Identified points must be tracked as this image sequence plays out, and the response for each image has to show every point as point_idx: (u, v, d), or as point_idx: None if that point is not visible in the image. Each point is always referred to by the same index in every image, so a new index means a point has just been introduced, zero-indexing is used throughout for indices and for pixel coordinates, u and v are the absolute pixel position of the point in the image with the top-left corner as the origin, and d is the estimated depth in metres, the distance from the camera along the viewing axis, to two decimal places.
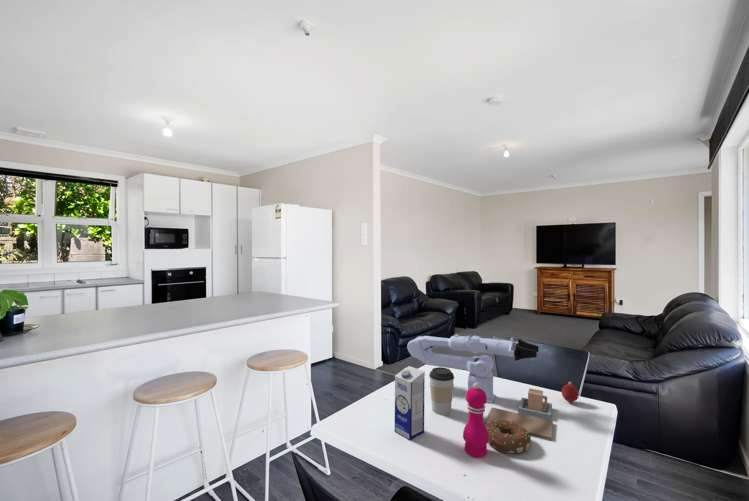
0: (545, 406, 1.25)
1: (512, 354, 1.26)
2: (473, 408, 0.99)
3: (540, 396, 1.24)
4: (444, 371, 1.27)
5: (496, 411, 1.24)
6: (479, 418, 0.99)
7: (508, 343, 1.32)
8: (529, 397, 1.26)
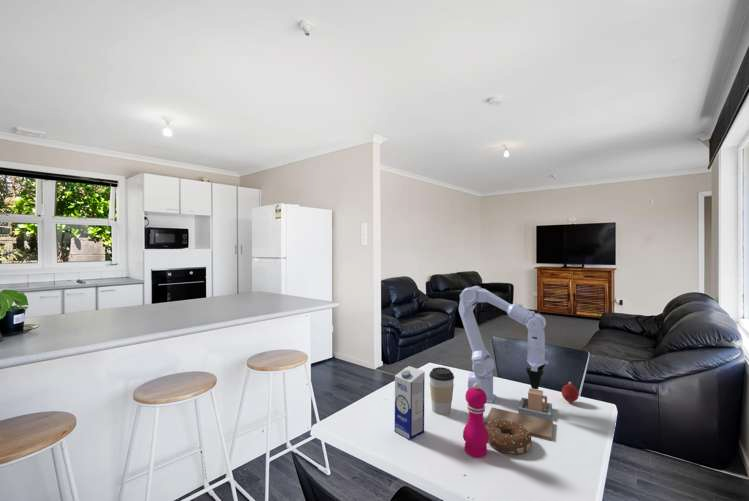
0: (545, 406, 1.25)
1: (533, 369, 1.21)
2: (473, 408, 0.99)
3: (540, 396, 1.24)
4: (444, 371, 1.27)
5: (496, 411, 1.24)
6: (479, 418, 0.99)
7: (542, 360, 1.25)
8: (529, 397, 1.26)
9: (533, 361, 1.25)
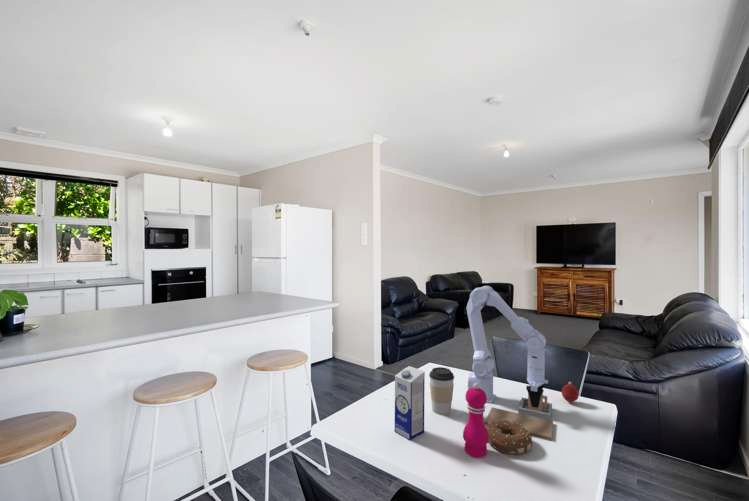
0: (545, 406, 1.25)
1: (533, 390, 1.21)
2: (473, 408, 0.99)
3: None
4: (444, 371, 1.27)
5: (496, 411, 1.24)
6: (479, 418, 0.99)
7: (542, 379, 1.25)
8: (529, 397, 1.26)
9: (533, 380, 1.25)
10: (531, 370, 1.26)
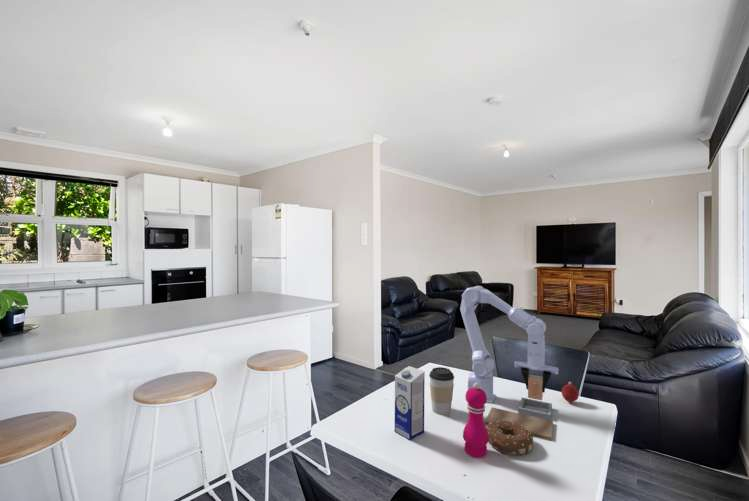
0: (533, 392, 1.25)
1: None
2: (473, 408, 0.99)
3: (528, 379, 1.27)
4: (444, 371, 1.27)
5: (496, 411, 1.24)
6: (479, 418, 0.99)
7: (530, 364, 1.26)
8: None
9: None
10: None
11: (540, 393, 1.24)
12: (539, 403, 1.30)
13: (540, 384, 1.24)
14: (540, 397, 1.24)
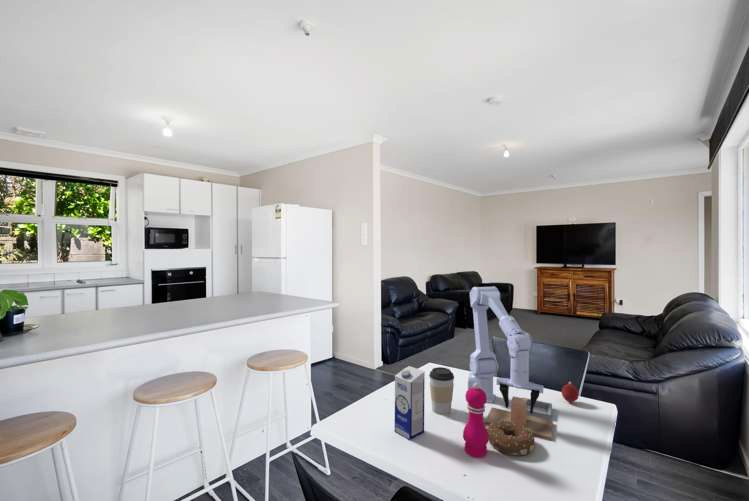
0: (516, 416, 1.15)
1: (497, 382, 1.21)
2: (473, 408, 0.99)
3: (511, 402, 1.17)
4: (444, 371, 1.27)
5: (496, 411, 1.24)
6: (479, 418, 0.99)
7: (513, 381, 1.16)
8: None
9: None
10: None
11: (524, 417, 1.15)
12: (539, 403, 1.30)
13: (524, 408, 1.15)
14: (524, 422, 1.15)
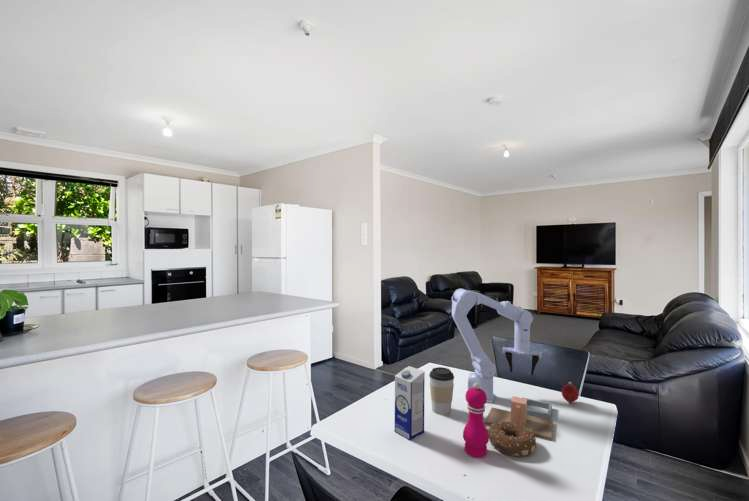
0: (516, 416, 1.15)
1: None
2: (473, 408, 0.99)
3: (511, 402, 1.17)
4: (444, 371, 1.27)
5: (496, 411, 1.24)
6: (479, 418, 0.99)
7: (517, 349, 1.38)
8: None
9: (514, 348, 1.41)
10: None
11: (524, 417, 1.15)
12: (539, 403, 1.30)
13: (524, 408, 1.15)
14: (524, 422, 1.15)
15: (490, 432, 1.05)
